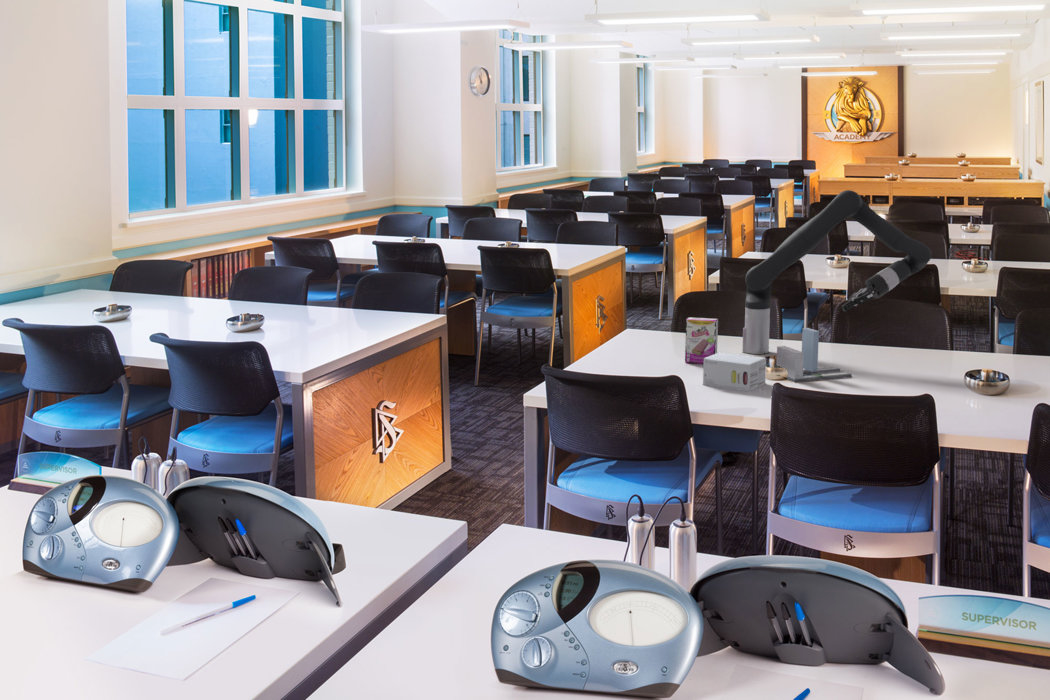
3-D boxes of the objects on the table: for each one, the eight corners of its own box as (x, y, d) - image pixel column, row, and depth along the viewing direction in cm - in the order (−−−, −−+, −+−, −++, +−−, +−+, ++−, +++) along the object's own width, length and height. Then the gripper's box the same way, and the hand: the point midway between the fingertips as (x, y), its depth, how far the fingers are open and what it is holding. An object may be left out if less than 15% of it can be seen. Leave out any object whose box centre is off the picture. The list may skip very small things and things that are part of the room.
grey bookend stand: (831, 369, 359) (832, 342, 357) (851, 377, 348) (852, 348, 346) (776, 374, 353) (777, 346, 351) (794, 382, 342) (795, 353, 340)
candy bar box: (684, 363, 374) (685, 319, 371) (687, 360, 379) (687, 317, 375) (715, 365, 370) (716, 320, 367) (717, 362, 375) (718, 318, 372)
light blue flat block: (806, 368, 355) (807, 327, 352) (823, 374, 345) (824, 332, 342) (801, 368, 354) (802, 328, 352) (817, 375, 345) (819, 333, 342)
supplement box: (702, 385, 341) (702, 358, 339) (719, 378, 351) (720, 351, 349) (749, 391, 331) (749, 363, 329) (765, 384, 341) (766, 356, 339)
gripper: (868, 274, 367) (829, 300, 365) (886, 272, 353) (846, 299, 352) (878, 292, 367) (840, 318, 365) (897, 290, 354) (857, 317, 352)
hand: (843, 309), depth 358 cm, fingers closed
